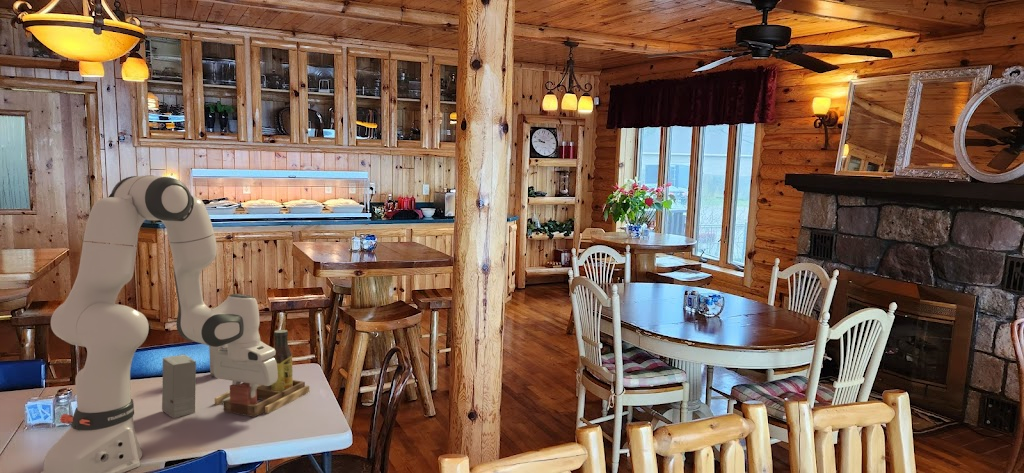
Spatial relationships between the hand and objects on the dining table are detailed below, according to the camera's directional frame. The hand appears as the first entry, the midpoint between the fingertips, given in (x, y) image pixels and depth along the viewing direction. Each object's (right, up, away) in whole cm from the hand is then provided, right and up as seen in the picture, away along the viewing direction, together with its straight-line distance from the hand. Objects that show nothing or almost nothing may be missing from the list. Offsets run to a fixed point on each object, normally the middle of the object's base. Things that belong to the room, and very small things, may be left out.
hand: (246, 396), depth 192 cm
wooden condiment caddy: (+3, -3, +8) cm, 9 cm away
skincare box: (-19, -5, 0) cm, 19 cm away
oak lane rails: (+1, -3, +11) cm, 12 cm away
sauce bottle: (+5, -3, +15) cm, 16 cm away
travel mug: (-22, -1, +32) cm, 39 cm away
